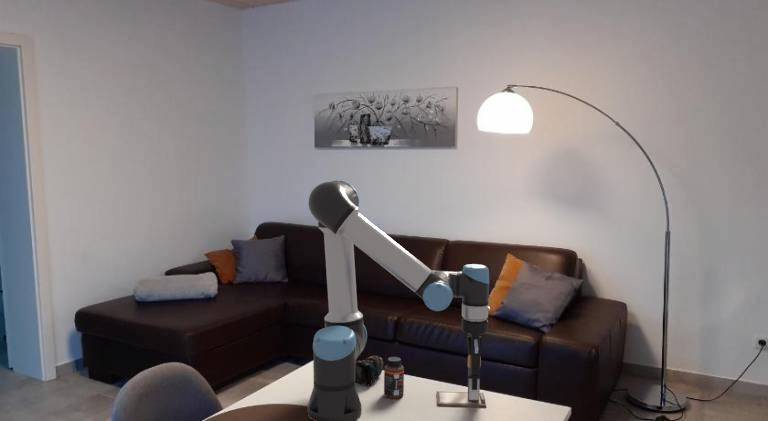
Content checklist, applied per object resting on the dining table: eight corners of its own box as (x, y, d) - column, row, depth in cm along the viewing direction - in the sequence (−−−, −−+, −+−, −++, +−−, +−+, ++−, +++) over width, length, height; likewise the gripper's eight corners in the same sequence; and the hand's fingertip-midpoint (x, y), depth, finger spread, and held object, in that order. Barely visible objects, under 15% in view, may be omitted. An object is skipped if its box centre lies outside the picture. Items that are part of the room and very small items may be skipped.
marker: (467, 402, 167) (468, 358, 166) (466, 397, 171) (467, 354, 170) (480, 402, 167) (481, 359, 166) (479, 397, 171) (480, 354, 169)
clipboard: (437, 405, 167) (437, 400, 167) (436, 393, 176) (436, 388, 176) (486, 407, 166) (486, 402, 166) (482, 394, 175) (482, 390, 175)
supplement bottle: (401, 400, 171) (402, 363, 170) (382, 398, 172) (382, 361, 171) (405, 392, 177) (405, 356, 176) (386, 390, 178) (386, 354, 177)
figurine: (342, 365, 183) (369, 347, 195) (350, 390, 183) (376, 370, 195) (363, 364, 178) (389, 345, 190) (371, 389, 178) (396, 369, 190)
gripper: (491, 326, 158) (489, 409, 160) (484, 311, 175) (483, 386, 177) (464, 325, 159) (462, 408, 161) (460, 310, 175) (458, 385, 177)
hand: (473, 396), depth 169 cm, fingers closed on marker, 3 cm apart
